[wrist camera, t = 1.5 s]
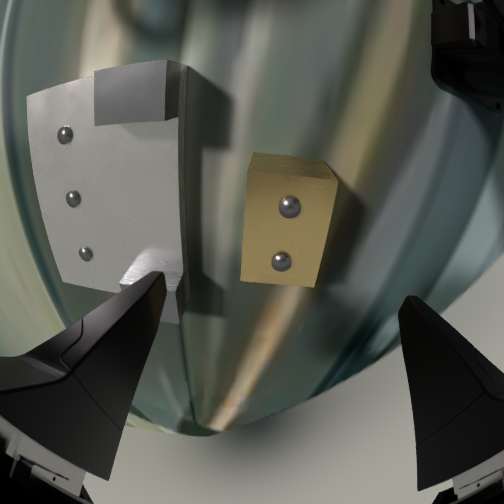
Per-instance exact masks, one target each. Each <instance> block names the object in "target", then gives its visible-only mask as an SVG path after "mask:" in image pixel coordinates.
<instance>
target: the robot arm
mask: <svg viewBox="0 0 504 504" xmlns="http://www.w3.org/2000/svg"><path fill="white" fill-rule="evenodd" d="M440 1H441V3H442V4H441V3H440V2H439V0H432V3H433V12H432V13H431V45H432V62H431V74H432V77H433V78H434V79H435V80H436V81H439V82H441V83H443V84H445V85H447V86H449V87H451V88H453V89H455V90H457V91H459V92H461V93H463V94H465V95H467V96H468V97H470V98H472V99H474V100H476V101H477V102H479V103H481V104H482V105H484V106H486V107H487V108H489V109H491V110H492V111H494V112H497V113H500V112H501V111H502V106H503V99H504V0H483V1H482V2H477V3H473V2H471V1H467V2H463V3H460V4H455V3H453V2H452V1H450V0H440ZM438 70H439V71H440V74H441V75H440V77H439V75H438V73H437V71H438ZM496 104H497V107H496ZM166 296H167V286H166V280H165V274H164V273H163V272H161V271H151V272H150V273H148V274H147V275H145V276H144V277H142V278H141V279H139V280H137V281H136V282H134V283H133V284H131V285H130V286H128V287H127V288H125V289H124V290H122V291H121V292H119V293H118V294H116V295H115V296H113V297H112V298H110V299H109V300H107V301H106V302H105V303H103V304H102V305H100V306H99V307H97V308H96V309H94V310H93V311H91V312H90V313H89V314H87V315H86V316H84V317H83V319H80V320H78V321H77V322H76V323H74V324H73V325H71V326H70V327H68V328H67V329H65V330H64V331H62V332H60V333H59V334H57V335H56V336H54V337H52V338H51V339H49V340H47V341H46V342H44V343H42V344H41V345H39V346H37V347H35V348H34V349H32V350H30V351H29V352H27V353H25V354H23V355H20V356H15V357H2V356H0V504H94V503H93V502H92V500H91V498H90V497H89V495H88V493H87V491H86V489H85V488H84V486H83V480H84V477H85V474H86V472H88V473H91V474H93V475H95V476H97V477H100V478H102V479H104V480H107V481H109V478H110V474H111V470H112V467H113V463H114V460H115V456H116V452H117V449H118V446H119V442H120V439H121V435H122V431H123V428H124V425H125V422H126V419H127V416H128V412H129V409H130V406H131V403H132V400H133V397H134V394H135V391H136V388H137V385H138V382H139V380H140V377H141V374H142V371H143V368H144V366H145V363H146V360H147V357H148V355H149V352H150V349H151V346H152V344H153V341H154V339H155V336H156V333H157V330H158V326H159V322H160V318H161V315H162V311H163V307H164V303H165V300H166ZM398 320H399V328H400V335H401V344H402V351H403V356H404V361H405V366H406V372H407V377H408V383H409V390H410V396H411V403H412V411H413V419H414V426H415V427H414V428H415V439H416V455H417V489H418V491H421V490H424V489H427V488H429V487H432V486H435V485H437V484H440V483H442V482H445V481H447V480H450V479H452V480H453V487H451V488H449V489H446V490H444V491H442V492H439V493H438V495H437V497H436V499H435V500H434V501H433V503H432V504H504V373H503V372H502V371H500V370H499V369H498V368H497V367H496V366H495V365H494V364H492V363H491V362H490V361H489V360H488V359H487V358H486V357H485V356H484V355H483V354H482V353H480V352H479V351H478V350H477V349H476V348H475V347H474V346H473V345H472V344H471V343H470V342H469V341H468V340H467V339H466V338H464V337H463V336H462V335H461V334H460V333H459V332H458V331H457V330H456V329H455V328H453V327H452V326H451V325H450V324H449V323H448V322H447V321H446V320H444V319H443V318H442V317H441V316H440V315H439V314H438V313H436V312H435V311H434V310H433V309H432V308H431V307H429V306H428V305H427V304H426V303H425V302H423V301H422V300H421V299H420V298H419V297H417V296H412V295H409V296H407V297H406V298H405V300H404V302H403V304H402V306H401V308H400V309H399V312H398Z"/></svg>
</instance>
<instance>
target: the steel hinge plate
mask: <svg viewBox="0 0 504 504" xmlns="http://www.w3.org/2000/svg"><path fill="white" fill-rule="evenodd" d="M187 68H188V65H185V64H181V63H178V62H174V61H170V60H158V61H150V62H142V63H135V64H129V65H123V66H118V67H112V68H107V69H103V70H98V71H94V76H91V77H87V78H83V79H79V80H75V81H71V82H68V83H64V84H61V85H58V86H55V87H51V88H48V89H45V90H43V91H40V92H37V93H34V94H31V95H29V96H27V118H28V133H29V144H30V152H31V160H32V167H33V173H34V179H35V185H36V190H37V195H38V199H39V204H40V208H41V213H42V217H43V221H44V224H45V228H46V232H47V235H48V239H49V242H50V245H51V248H52V252H53V255H54V258H55V261H56V264H57V267H58V269H59V272H60V275H61V278H62V280H63V282H66V283H71V284H75V285H80V286H85V287H89V288H94V289H99V290H104V291H109V292H114V293H119V292H121V291H122V290H124V289H125V288H127V287H128V286H130V285H131V284H133V283H134V282H136V281H137V280H139V279H141V278H142V277H144V276H145V275H147V274H148V273H150V272H151V271H161V272H163V273H164V274H165V280H166V286H167V296H166V300H165V303H164V307H163V311H162V315H161V318H160V321H164V322H170V323H176V324H180V322H181V319H182V316H183V313H184V311H185V308H186V305H187V302H188V299H189V296H190V283H189V270H188V255H187V237H186V214H185V106H186V84H187Z"/></svg>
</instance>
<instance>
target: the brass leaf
mask: <svg viewBox="0 0 504 504" xmlns="http://www.w3.org/2000/svg"><path fill="white" fill-rule="evenodd" d="M338 182H339V181H338V180H337V178H336V177H335V176H334V174H333V173H332V171H331V170H330V169H329V167H328V166H327V164H326V163H325V162H324V160H317V159H310V158H303V157H295V156H286V155H277V154H267V153H256V152H253V155H252V158H251V161H250V164H249V167H248V171H247V185H246V200H245V216H244V232H243V248H242V264H241V281H248V282H258V283H269V284H280V285H291V286H303V287H314V286H315V282H316V278H317V275H318V271H319V267H320V263H321V259H322V255H323V251H324V246H325V242H326V238H327V234H328V229H329V225H330V220H331V216H332V211H333V206H334V202H335V197H336V192H337V187H338Z"/></svg>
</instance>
